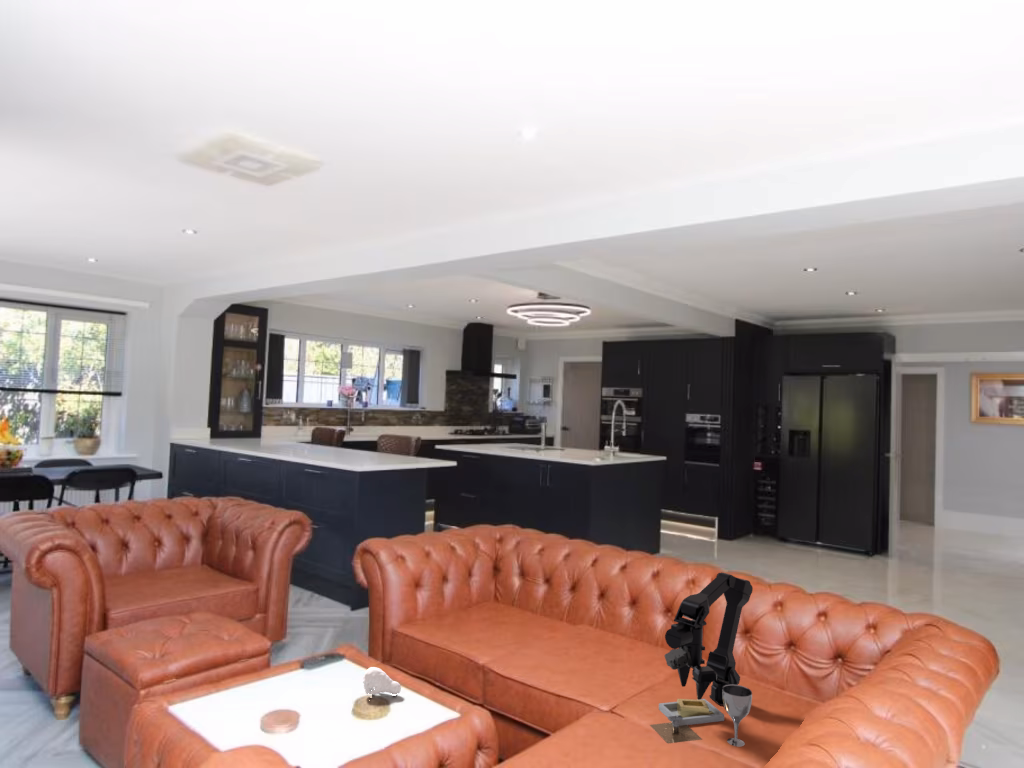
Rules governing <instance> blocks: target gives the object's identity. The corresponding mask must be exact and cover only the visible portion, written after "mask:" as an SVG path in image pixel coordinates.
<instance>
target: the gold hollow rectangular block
mask: <svg viewBox="0 0 1024 768" xmlns="http://www.w3.org/2000/svg"><path fill="white" fill-rule="evenodd" d="M676 702H677V711H678V714H679V715H680V716H682V717H683V718H685V717H694V716H702V715H711V714H714V713H713V711H709V708H708V706H707V704H706V702H705V700H697V699H692V698H691V699H690V698H676Z"/></svg>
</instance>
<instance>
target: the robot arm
mask: <svg viewBox="0 0 1024 768" xmlns="http://www.w3.org/2000/svg"><path fill="white" fill-rule="evenodd" d="M752 593H753V585H752V584H751V582H750V580H747V579H744V578H740V577H736V576H734V575H733V574H730V573H726V572H718V573H717V574H716V576H715V578H714V579H713V580H712V581H710V582H709V583H708V584H707V585H706V586H705V587H704V588H703V589H702V590H701V591H700V592H698V593H696V594H691V595H688V596H687V597H685V598H684V599H683V600H682V601H681V602H680V605H679V607H678V609H677V612H676V614H675V617H674V618H673V621H674V623H673V624H670V628H669V629H667V630H666V632H665V635H664V638H665V642H666V645H668V647H669V648H671V649H670V650H669V652H667V653H664V659H665V661H666V665H667V666H668V667H669V668H671V670H677V673H678V677H679V680H680V685H681V687H686V685H687V684H688V683H687V682H688V679H689V675H690V671H691V669H692V672H691V674H692V677H691V679H692V680H693V681H694V682H695V686H696V687H695V688H696V689H695V690H696V698H697V699H698V700H700V699H703V697H704V695H705V694H706V691H707V690H708V688H709V687H710V690H711V691H710V695H708V696H709V698H710V699H711V700H712V701H714V702H716V704H718V705H719V706H724V704H723V694H722V692H723V687H724V686H725V685H730V684H734V685H740V682H741V681H740V680H741V676H740V674H739V673H738V672H737V670H736V659H735V657H734V652H733V651H734V646H735V642H736V637H737V633H738V628H739V623H740V620H741V616H742V615H741V614H742V610H743V608H744V606H745V605H747V604H748V603H749V601H750V598H751V595H752ZM722 595H724V596H723V597H724V599H725V601H726V602H725V603H726V605H725V610H724V614H723V618H722V623H721V627H720V632H719V637H718V640H717V641H718V643H717V645H716V647H715V649H713V651H709V652H708V658H707V661H705V660H704V659H703V651H706V647H705V646H704V645H703V636H704V631H703V630H704V629H703V628H704V627H703V626H707V621H706V620H705V619H706V618H707V617H708V615H709V614H710V609H711V606H712V605H713V604H714V603H715V602H716V601H718V599H719V598H720V597H722ZM675 622H676V623H675ZM705 663H706V664H705ZM701 665H704V666H701ZM711 683H712V684H711ZM710 685H711V686H710ZM697 699H696V700H697Z"/></svg>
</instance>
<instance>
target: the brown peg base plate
mask: <svg viewBox="0 0 1024 768" xmlns="http://www.w3.org/2000/svg"><path fill="white" fill-rule="evenodd" d="M667 719H668V720H669V722H663V723H655V724H654V723H653V724H649V726H650V728H652V729H653V730H654V732H655V733H657V734H658V735H659V736H660V738H662V740H663V741H665V743H666V744H668V745H669V744H677V743H685V742H691V741H701V740H703V738H702V737H701V736H700V735H698V734H697V732H695V731H694V730H693V729H692V728H691V727H690V725H683V726H679V720H683V717H682V716H680V715H679V716H670V717H668V718H667ZM671 721H673V723H672V722H671Z"/></svg>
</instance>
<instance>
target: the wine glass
mask: <svg viewBox="0 0 1024 768" xmlns="http://www.w3.org/2000/svg"><path fill="white" fill-rule="evenodd" d="M722 694H723V704H724V705H723V708H724V710H725V711H726V713H727V714H728V716H729V717H730V719H731V720H732V722H733V727H734V737H731V738H728V739H726V743H728V744H729V745H731V746H733V747H736V748H737V747H738V748H739V747H744V746H745V744H746V743H745V742H744V740H742V739H740V738H738V735H739V734H738V732H739V731H738V730H739V726H740V723H741V721H742V720H743V719H745V718H746V717H747V716H748V715H749V713H750V711H751V708H752V701H753V692H752V690H751V689H750V688H748V687H746V686H743V685H742V684H741V685H740V684H738V685H734V684H730V685H725V686H724V687H723V692H722Z"/></svg>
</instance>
